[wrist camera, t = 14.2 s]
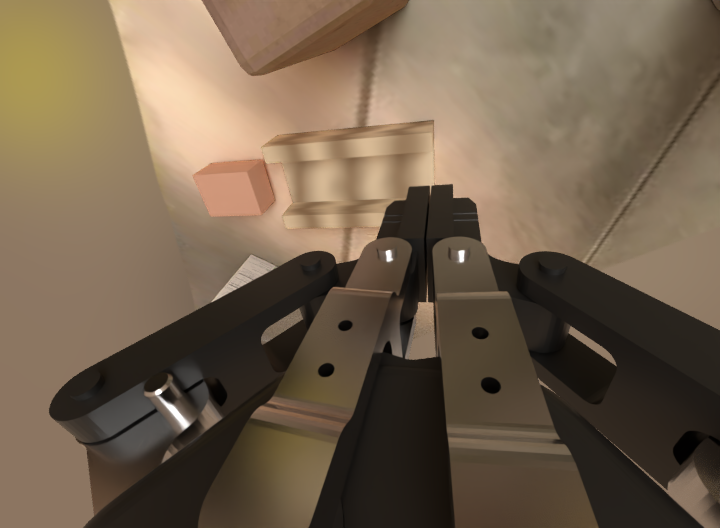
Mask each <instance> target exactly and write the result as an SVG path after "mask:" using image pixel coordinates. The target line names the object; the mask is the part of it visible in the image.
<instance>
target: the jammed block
mask: <svg viewBox="0 0 720 528" xmlns="http://www.w3.org/2000/svg"><path fill="white" fill-rule="evenodd" d="M192 176H193V178H194V180H195V182H196V185H197V187H198V189H199V191H200V194H201V196H202V198H203V200H204V203H205V205H206V207H207V209H208V212H209V214H210V216H243V215H262V214H263V213H264V212H265V211H266V210H267V209H268V208H269V206H270V205H271V204H272V203H273V202H274V201H275V199H274V196H273V193H272V189H271V186H270V183H269V180H268V176H267V173H266V170H265V167H264V164H263V160H249V161H236V162H223V163H211V164H209V165H208V166H206V167H205V168H203V169H202V170H200V171H199V172H197V173H196V174H194V175H192Z"/></svg>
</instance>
